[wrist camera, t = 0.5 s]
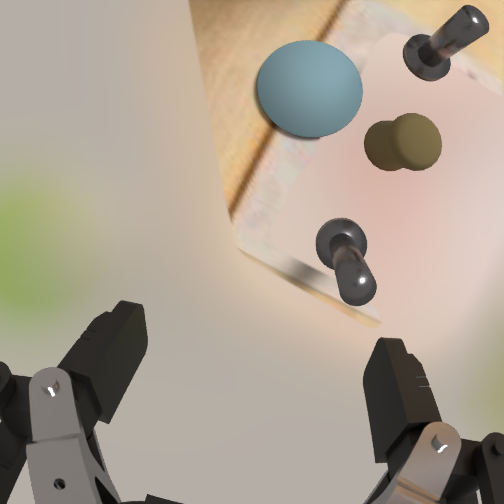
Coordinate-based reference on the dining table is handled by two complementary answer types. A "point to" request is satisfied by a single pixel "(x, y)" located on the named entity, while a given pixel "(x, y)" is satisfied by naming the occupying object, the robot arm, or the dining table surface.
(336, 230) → the gap posts
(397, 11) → the dining table surface
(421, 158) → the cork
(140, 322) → the robot arm
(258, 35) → the dining table surface
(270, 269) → the dining table surface
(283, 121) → the teal mat
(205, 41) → the dining table surface
